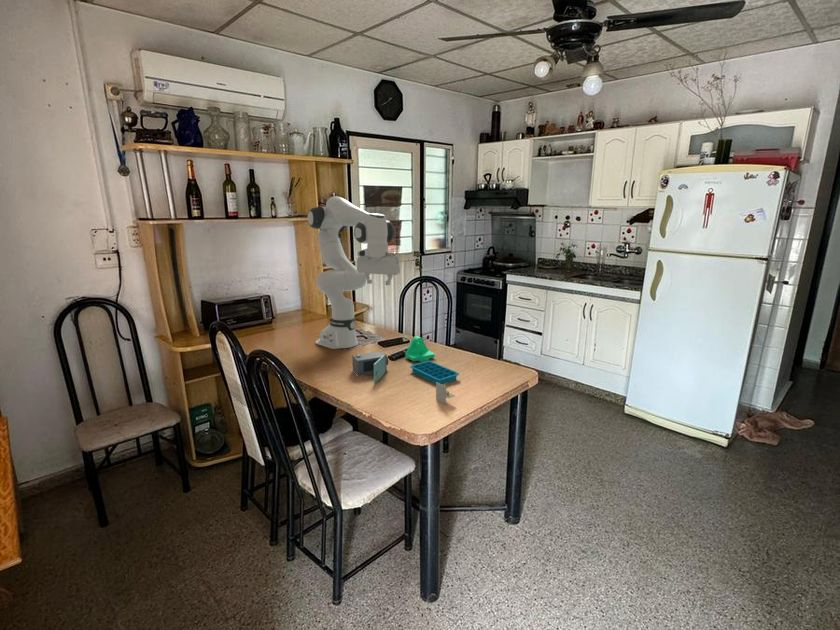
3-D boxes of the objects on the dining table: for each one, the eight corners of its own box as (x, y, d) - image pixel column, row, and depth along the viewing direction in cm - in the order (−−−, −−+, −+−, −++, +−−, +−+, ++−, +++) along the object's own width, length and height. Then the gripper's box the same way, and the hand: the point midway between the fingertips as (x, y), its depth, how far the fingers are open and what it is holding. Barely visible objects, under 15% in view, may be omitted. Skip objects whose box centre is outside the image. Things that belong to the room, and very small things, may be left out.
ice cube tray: (429, 366, 197) (429, 360, 196) (460, 380, 182) (460, 373, 181) (408, 372, 190) (408, 366, 189) (438, 387, 175) (439, 380, 174)
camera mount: (413, 363, 200) (413, 342, 198) (405, 358, 207) (405, 337, 204) (435, 359, 206) (435, 338, 204) (426, 354, 213) (427, 334, 210)
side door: (384, 371, 190) (384, 353, 188) (387, 372, 189) (387, 354, 187) (373, 383, 177) (373, 364, 175) (376, 383, 177) (376, 364, 175)
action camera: (384, 365, 197) (383, 349, 195) (390, 370, 191) (390, 354, 189) (352, 370, 191) (352, 354, 189) (358, 376, 184) (357, 359, 183)
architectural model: (442, 398, 165) (443, 379, 163) (454, 404, 160) (455, 386, 158) (435, 400, 163) (435, 382, 161) (447, 407, 158) (447, 388, 156)
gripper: (402, 252, 185) (403, 284, 188) (362, 250, 194) (363, 281, 198) (395, 253, 180) (395, 286, 183) (354, 252, 189) (355, 283, 192)
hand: (378, 284), depth 190 cm, fingers open, 8 cm apart
